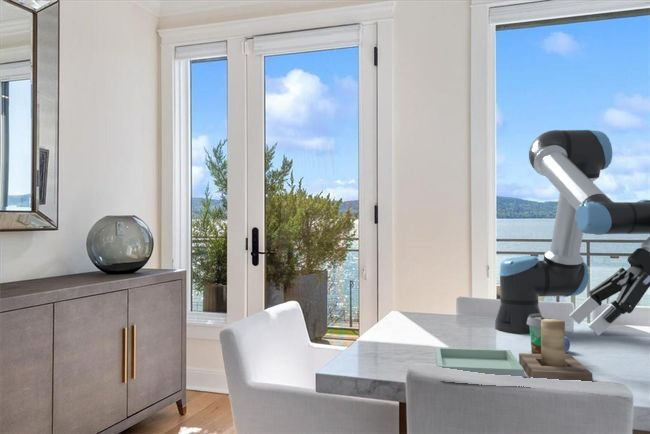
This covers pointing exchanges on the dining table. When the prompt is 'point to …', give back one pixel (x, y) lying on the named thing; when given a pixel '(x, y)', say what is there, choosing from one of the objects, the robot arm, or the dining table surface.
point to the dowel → (552, 342)
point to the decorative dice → (567, 344)
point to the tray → (479, 361)
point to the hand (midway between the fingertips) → (582, 325)
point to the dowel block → (554, 368)
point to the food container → (535, 332)
